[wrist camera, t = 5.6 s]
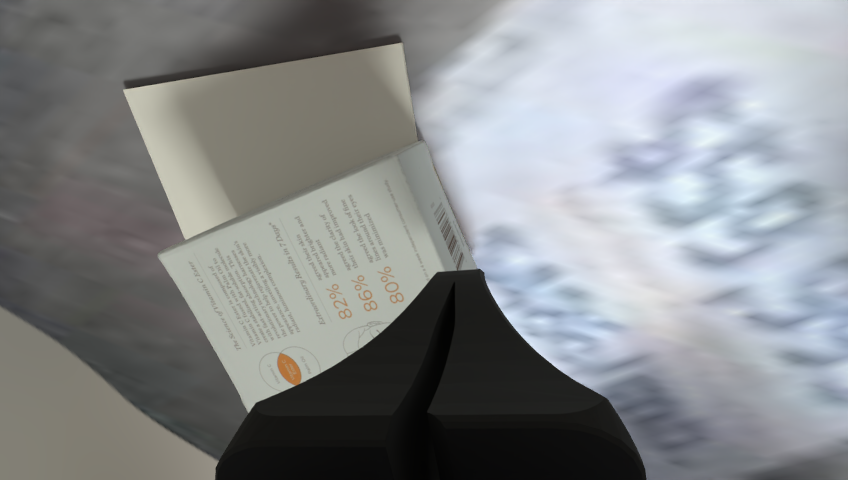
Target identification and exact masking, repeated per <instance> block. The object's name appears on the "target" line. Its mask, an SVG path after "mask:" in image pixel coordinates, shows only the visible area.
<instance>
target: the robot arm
mask: <svg viewBox="0 0 848 480" xmlns="http://www.w3.org/2000/svg"><path fill="white" fill-rule="evenodd" d="M215 480H646V473H645V468H644V465H643V462H642V459H641V457H640V455H639V452H638V450H637V448H636V446H635V444H634V442H633V440H632V438H631V436H630V435H629V433H628V431H627V429H626V427H625V426H624V424H623V422H622V421H621V419H620V417H619V416H618V414H617V413H616V411H615V409H614V408H613V406H612V405H611V403H610V402H609V400H608V399H606V398H605V397H603V396H602V395H600V394H598V393H596V392H594V391H593V390H591V389H589V388H587V387H585V386H584V385H582V384H580V383H578V382H576V381H575V380H573V379H571V378H570V377H568V376H567V375H566V374H564V373H563V372H561V371H560V370H558V369H557V368H556V367H554V366H553V365H552V364H551V363H550V362H548V361H547V360H546V359H545V358H543V357H542V356H541V355H540V354H539V353H537V352H536V351H535V350H534V349H533V348H532V347H531V346H530V345H529V344H528V343H527V342H526V341H525V340H524V339H523V338H522V336H521V335H520V334H519V333H518V332H517V331H516V330H515V329H514V327H513V326H512V325H511V324H510V322H509V321H508V319H507V318H506V317H505V315H504V314H503V313H502V311H501V310H500V308H499V306H498V305H497V303H496V301H495V300H494V298H493V296H492V294H491V292H490V290H489V288H488V286H487V284H486V281H485V276H484V272H483V271H482V270H480V269H472V270H458V271H443V272H437V273H436V274H435V275H434V276H433V277H432V278H431V279H430V281H429V282H428V283H427V284H426V286H425V287H424V288H423V289H422V290H421V292H420V293H419V294H418V295H417V296H416V298H415V299H414V300H413V301H412V302H411V303H410V304H409V305H408V307H407V308H406V309H405V310H404V311H403V312H402V313H401V314H400V315H399V316H398V317H397V318H396V319H395V320H394V321H393V322H392V323H391V324H390V325H389V326H388V327H386V328H385V329H384V330H383V331H382V332H381V333H380V334H378V335H377V336H376V337H375V338H373V339H372V340H371V341H369V342H368V343H367V344H366V345H364V346H363V347H362V348H360V349H359V350H357V351H356V352H354V353H352V354H351V355H349V356H348V357H346V358H345V359H343V360H342V361H340V362H339V363H337V364H336V365H334V366H332V367H331V368H329V369H327V370H325V371H324V372H322V373H320V374H318V375H316V376H314V377H312V378H310V379H308V380H306V381H305V382H302V383H300V384H298V385H296V386H294V387H292V388H289V389H287V390H285V391H282V392H280V393H278V394H276V395H273V396H271V397H269V398H266V399H264V400H261V401H259V402H256V403H255V405H254V406H253V407H252V409H251V410H250V412H249V413H248V415H247V417H246V418H245V420H244V421H243V423H242V424H241V426H240V427H239V429H238V431H237V432H236V434H235V436H234V437H233V439H232V440H231V442H230V444H229V445H228V447H227V448H226V450H225V452H224V453H223V455H222V456H221V458H220V460H219V462H218V464H217V466H216V475H215Z"/></svg>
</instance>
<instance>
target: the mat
mask: <svg viewBox="0 0 848 480" xmlns="http://www.w3.org/2000/svg"><path fill="white" fill-rule="evenodd" d="M123 91H124V94H125V96H126V98H127V101H128V103H129V106H130V108H131V110H132V113H133V115H134V118H135V120H136V122H137V125H138V127H139V130H140V132H141V134H142V137H143V139H144V142H145V144H146V146H147V149H148V151H149V154H150V156H151V158H152V161H153V163H154V166H155V168H156V170H157V173H158V175H159V178H160V180H161V182H162V185H163V187H164V190H165V192H166V194H167V197H168V199H169V202H170V204H171V206H172V209H173V211H174V214H175V216H176V218H177V221H178V223H179V226H180V228H181V230H182V233H183V235H184V238H185V240H187V239H189V238H191V237H193V236H195V235H197V234H199V233H202V232H204V231H206V230H208V229H211V228H213V227H215V226H217V225H219V224H222V223H224V222H226V221H228V220H231V219H233V218H235V217H238V216H240V215H242V214H245V213H247V212H249V211H252V210H254V209H256V208H258V207H261V206H263V205H265V204H268V203H270V202H272V201H275V200H277V199H279V198H282V197H284V196H286V195H289V194H291V193H293V192H296V191H298V190H301V189H303V188H305V187H308V186H310V185H312V184H315V183H317V182H319V181H322V180H324V179H327V178H329V177H331V176H334V175H336V174H339V173H341V172H343V171H346V170H348V169H351V168H353V167H355V166H358V165H360V164H363V163H365V162H368V161H370V160H372V159H375V158H377V157H380V156H382V155H385V154H387V153H390V152H392V151H395V150H398V149H400V148H403V147H405V146H408V145H410V144H413V143H415V142H418V138H417V131H416V125H415V118H414V112H413V106H412V99H411V93H410V86H409V80H408V73H407V67H406V61H405V54H404V48H403V43H397V44H392V45H386V46H380V47H374V48H368V49H362V50H356V51H350V52H344V53H338V54H332V55H326V56H321V57H315V58H309V59H303V60H297V61H291V62H285V63H279V64H273V65H267V66H261V67H255V68H250V69H244V70H238V71H232V72H226V73H220V74H214V75H208V76H202V77H196V78H190V79H184V80H179V81H173V82H167V83H161V84H155V85H149V86H143V87H137V88H131V89H125V90H123Z"/></svg>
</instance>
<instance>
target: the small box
mask: <svg viewBox="0 0 848 480" xmlns="http://www.w3.org/2000/svg"><path fill="white" fill-rule="evenodd" d="M158 258H159V259H160V261H161V262H162V264H163V265H164V267H165V268H166V270H167V271H168V273H169V275H170V276H171V277H172V279H173V280H174V282H175V283H176V285H177V287H178V288H179V290H180V291H181V293H182V295H183V296H184V298H185V300H186V302H187V303H188V305H189V307H190V308H191V310H192V312H193V313H194V315H195V317H196V319H197V320H198V322H199V324H200V325H201V327H202V329H203V330H204V332H205V334H206V336H207V338H208V339H209V341H210V343H211V345H212V346H213V348H214V350H215V352H216V353H217V355H218V357H219V359H220V360H221V362H222V364H223V366H224V367H225V369H226V371H227V373H228V374H229V376H230V378H231V380H232V382H233V383H234V385H235V387H236V389H237V391H238V392H239V394H240V396H241V400H242V402H243V404H244V405H245V407H246V409H247V411H248V413H249V412H250V410H251V409H252V407H253V406H254V405H255V403H256V402H259V401H261V400H264V399H266V398H269V397H271V396H273V395H276V394H278V393H280V392H282V391H285V390H287V389H289V388H292V387H294V386H296V385H298V384H300V383H302V382H305V381H306V380H308V379H310V378H312V377H314V376H316V375H318V374H320V373H322V372H324V371H325V370H327V369H329V368H331V367H332V366H334V365H336V364H337V363H339V362H340V361H342V360H343V359H345V358H346V357H348V356H349V355H351V354H352V353H354V352H356V351H357V350H359V349H360V348H362V347H363V346H364V345H366V344H367V343H368V342H369V341H371V340H372V339H373V338H375V337H376V336H377V335H378V334H380V333H381V332H382V331H383V330H384V329H385V328H386V327H388V326H389V325H390V324H391V323H392V322H393V321H394V320H395V319H396V318H397V317H398V316H399V315H400V314H401V313H402V312H403V311H404V310H405V309H406V308H407V307H408V305H409V304H410V303H411V302H412V301H413V300H414V299H415V298H416V296H417V295H418V294H419V293H420V292H421V290H422V289H423V288H424V287H425V286H426V284H427V283H428V282H429V281H430V279H431V278H432V277H433V276H434V275H435V274H436V273H437V272H443V271H458V270H472V269H478V268H477V266H476V264H475V262H474V260H473V257H472V255H471V253H470V250H469V248H468V246H467V244H466V241H465V239H464V237H463V235H462V232H461V230H460V228H459V226H458V223H457V221H456V219H455V216H454V214H453V212H452V210H451V207H450V205H449V202H448V200H447V197H446V195H445V193H444V190H443V188H442V185H441V183H440V180H439V178H438V175H437V173H436V171H435V168H434V165H433V162H432V159H431V156H430V153H429V151H428V148H427V145H426V142H425V141H424V140H421V141H418V142H415V143H413V144H410V145H408V146H405V147H403V148H400V149H398V150H395V151H392V152H390V153H387V154H385V155H382V156H380V157H377V158H375V159H372V160H370V161H368V162H365V163H363V164H360V165H358V166H355V167H353V168H351V169H348V170H346V171H343V172H341V173H339V174H336V175H334V176H331V177H329V178H327V179H324V180H322V181H319V182H317V183H315V184H312V185H310V186H308V187H305V188H303V189H301V190H298V191H296V192H293V193H291V194H289V195H286V196H284V197H282V198H279V199H277V200H275V201H272V202H270V203H268V204H265V205H263V206H261V207H258V208H256V209H254V210H252V211H249V212H247V213H245V214H242V215H240V216H238V217H235V218H233V219H231V220H228V221H226V222H224V223H222V224H219V225H217V226H215V227H213V228H211V229H208V230H206V231H204V232H202V233H199V234H197V235H195V236H193V237H191V238H189V239H187V240H184V241H182V242H180V243H178V244H176V245H173V246H171V247H169V248H167V249H165V250H163V251H161V252H159V254H158Z"/></svg>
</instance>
